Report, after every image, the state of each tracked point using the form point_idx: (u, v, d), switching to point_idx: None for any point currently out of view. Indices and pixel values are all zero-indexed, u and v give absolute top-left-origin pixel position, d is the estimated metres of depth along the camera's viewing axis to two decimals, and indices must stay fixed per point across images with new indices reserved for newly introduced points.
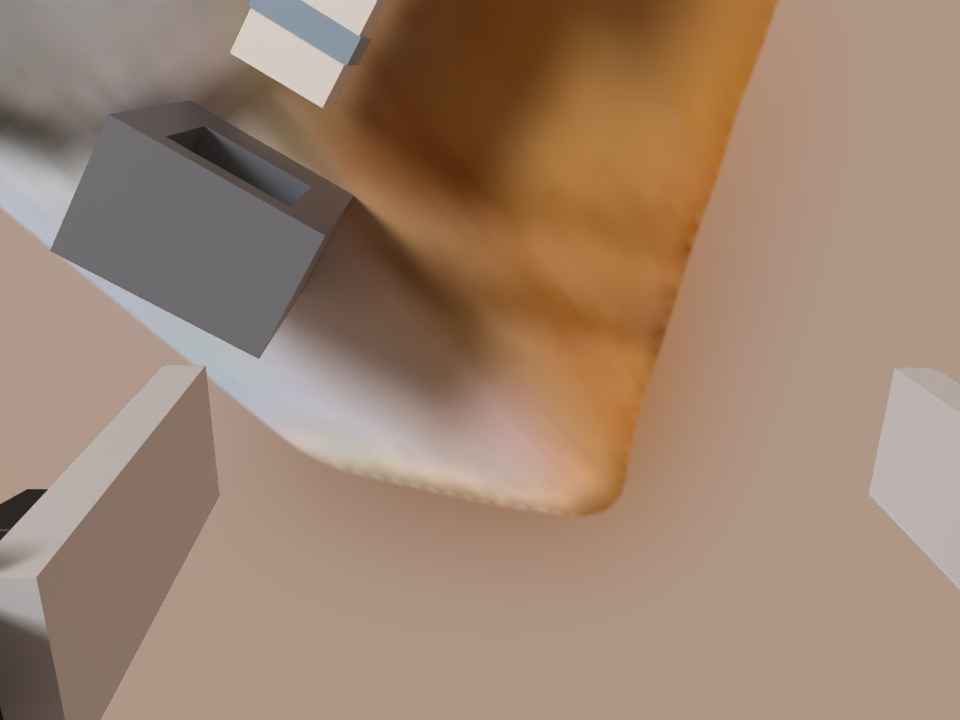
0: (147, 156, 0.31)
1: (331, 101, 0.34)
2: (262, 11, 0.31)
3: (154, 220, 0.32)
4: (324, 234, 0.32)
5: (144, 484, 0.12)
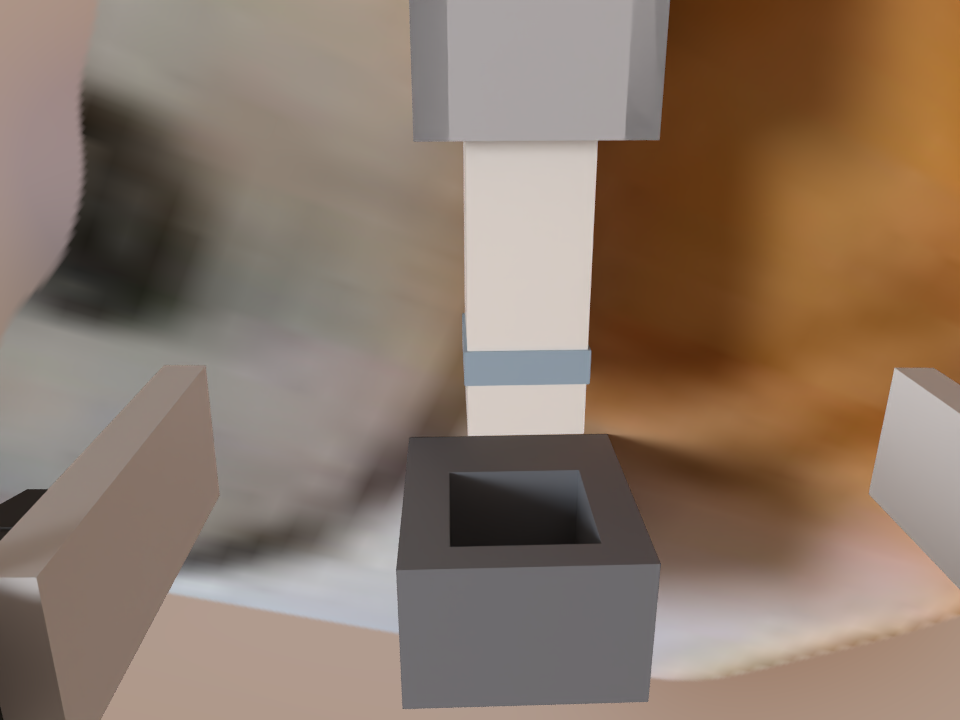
0: (450, 586, 0.28)
1: None
2: (480, 382, 0.27)
3: (485, 635, 0.29)
4: (658, 561, 0.28)
5: (144, 484, 0.12)
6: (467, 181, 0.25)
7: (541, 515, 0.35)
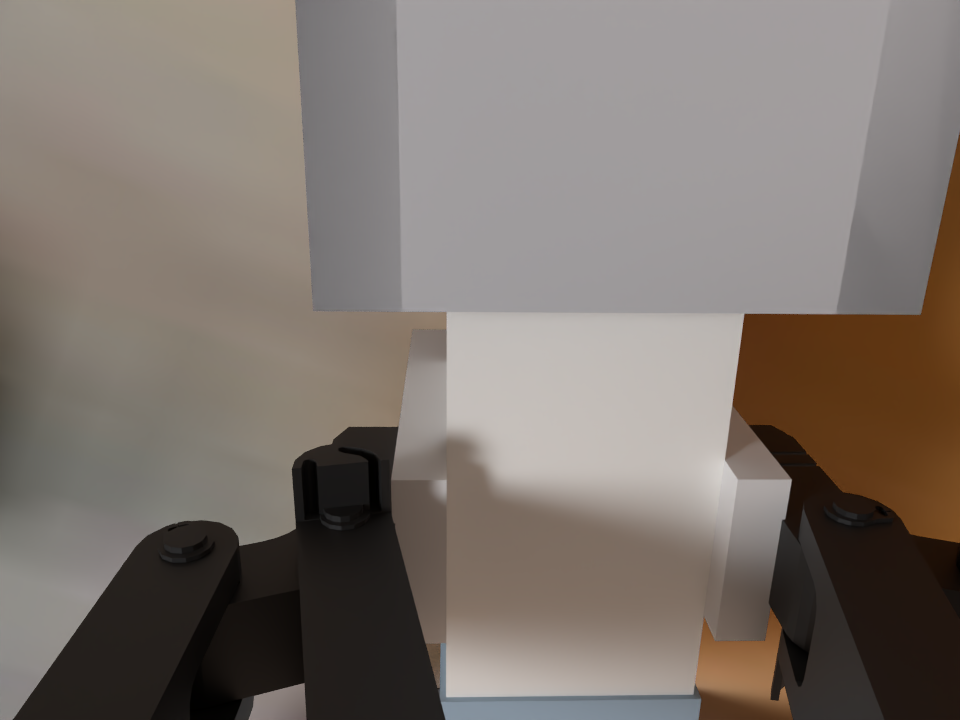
0: None
1: None
2: None
3: None
4: None
5: None
6: (450, 375, 0.11)
7: None
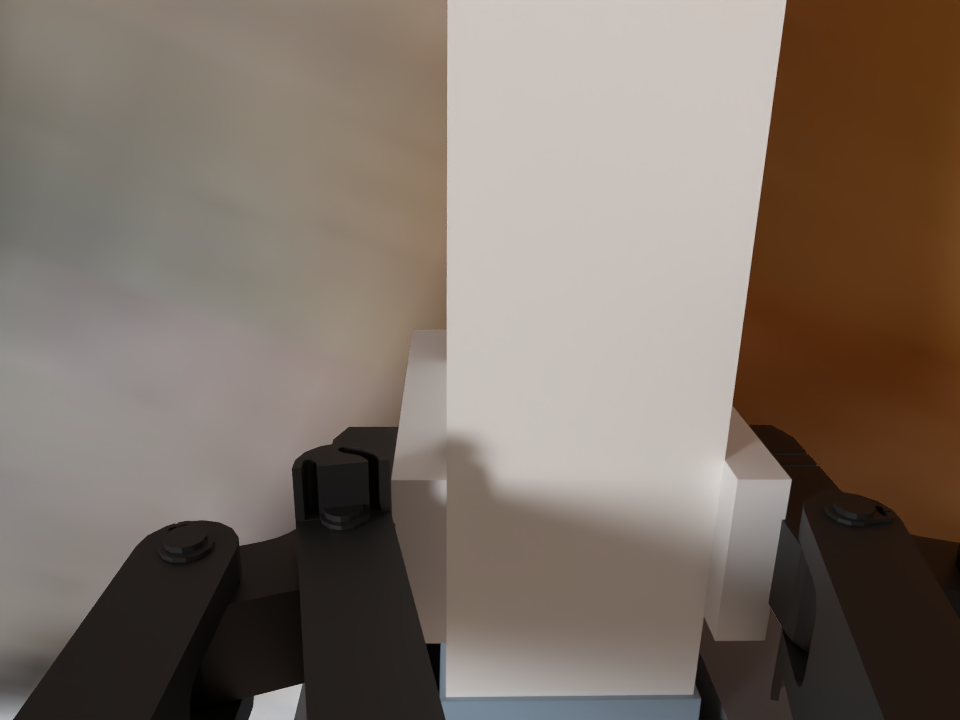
0: None
1: None
2: None
3: None
4: None
5: None
6: (450, 374, 0.11)
7: None
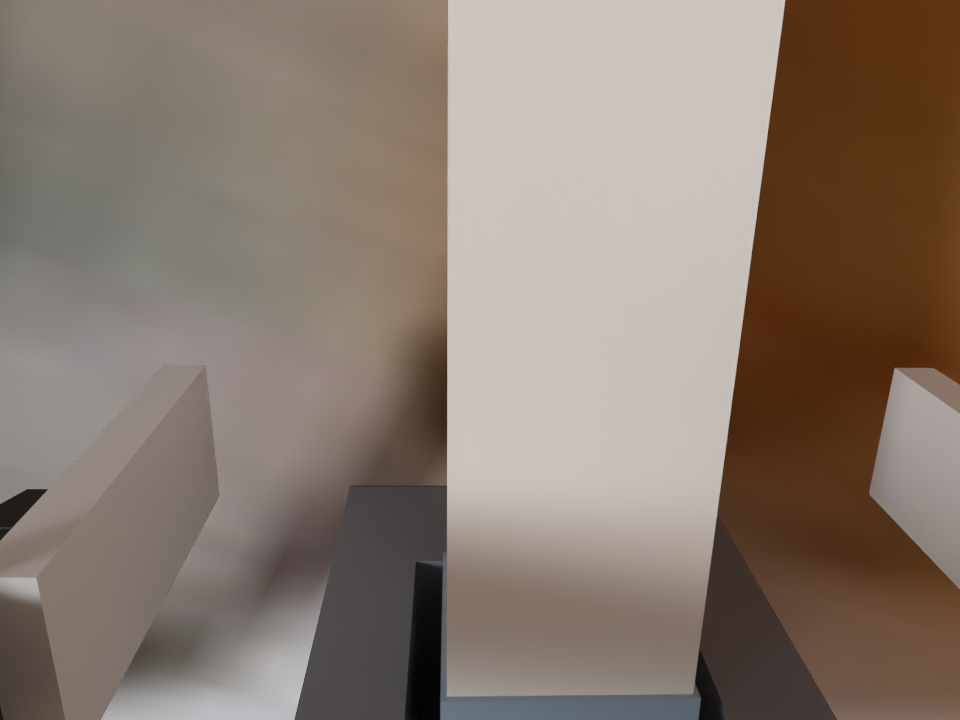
0: None
1: None
2: None
3: None
4: None
5: (144, 483, 0.12)
6: (450, 375, 0.11)
7: None
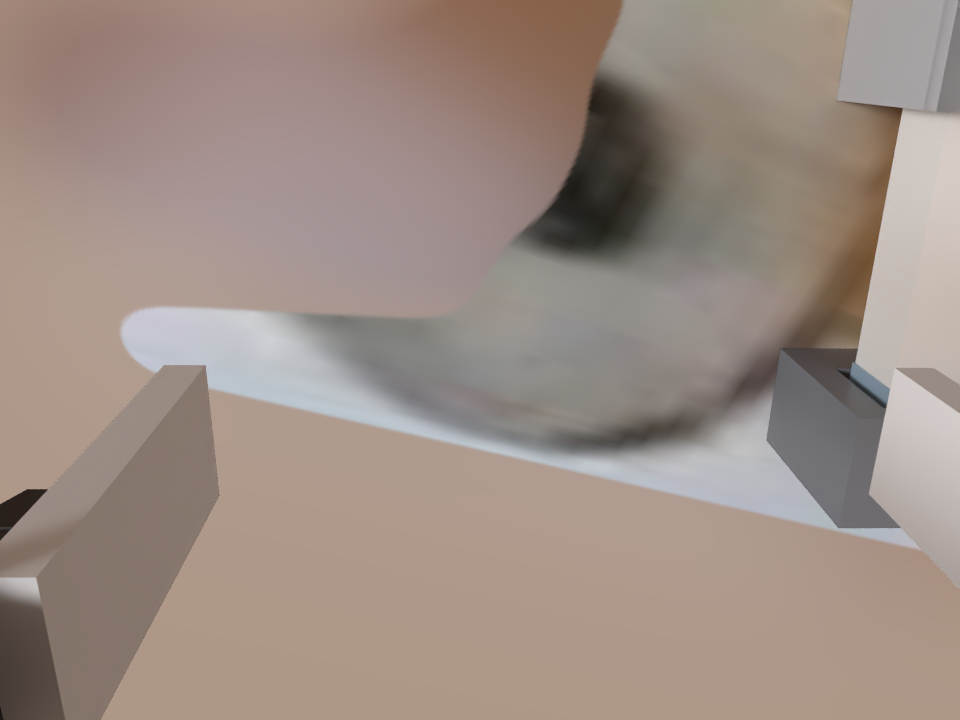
0: None
1: None
2: None
3: None
4: None
5: (144, 484, 0.12)
6: (915, 282, 0.39)
7: None
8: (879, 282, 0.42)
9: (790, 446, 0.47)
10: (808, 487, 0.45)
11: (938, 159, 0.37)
